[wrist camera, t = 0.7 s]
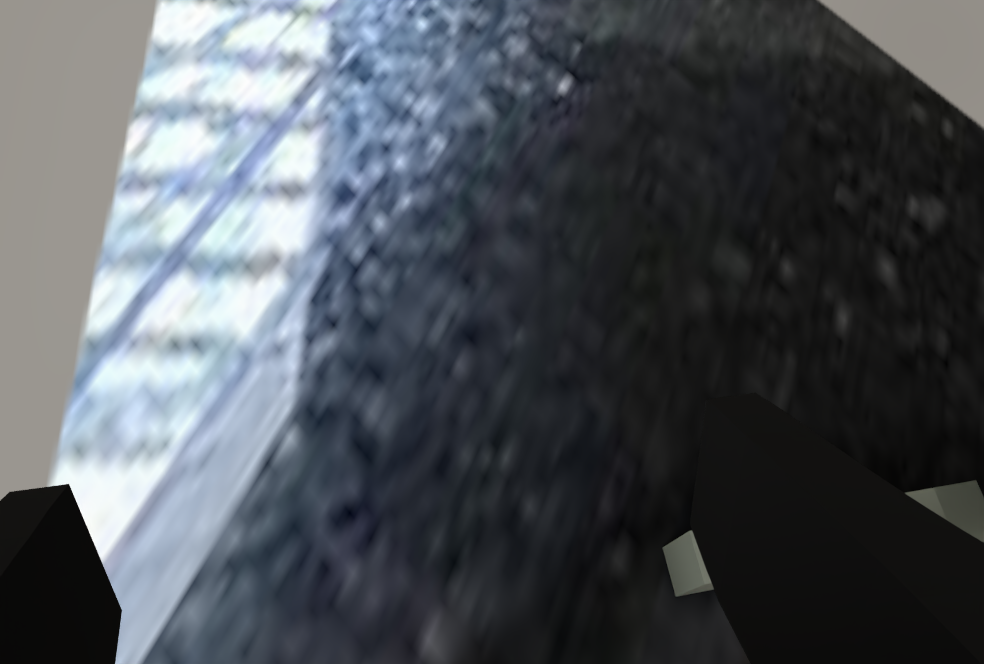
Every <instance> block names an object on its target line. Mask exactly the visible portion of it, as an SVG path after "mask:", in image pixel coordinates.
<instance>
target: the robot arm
mask: <svg viewBox="0 0 984 664" xmlns="http://www.w3.org/2000/svg"><path fill="white" fill-rule="evenodd" d="M690 526H691V529H692V531H693V534H694V537H695V540H696V543H697V545H698V548H699V551H700V554H701V556H702V559H703V562H704V565H705V567H706V570H707V573H708V575H709V578H710V580H711V583H712V585H713V588H714V591H715V593H716V596H717V598H718V601H719V603H720V605H721V607H722V609H723V611H724V613H725V615H726V617H727V619H728V621H729V623H730V625H731V626H732V628H733V630H734V632H735V634H736V636H737V638H738V640H739V642H740V644H741V646H742V648H743V650H744V652H745V653H746V655H747V657H748V659H749V661H750V663H751V664H984V542H982V541H980V540H979V539H977V538H975V537H974V536H972V535H970V534H969V533H967V532H965V531H964V530H962V529H960V528H959V527H957V526H956V525H954V524H952V523H951V522H949V521H948V520H946V519H944V518H943V517H941V516H940V515H938V514H936V513H935V512H933V511H932V510H930V509H928V508H927V507H925V506H924V505H922V504H921V503H919V502H918V501H916V500H914V499H913V498H911V497H910V496H908V495H907V494H905V493H904V492H902V491H901V490H899V489H898V488H896V487H895V486H893V485H892V484H890V483H889V482H887V481H886V480H884V479H883V478H881V477H880V476H878V475H877V474H875V473H874V472H872V471H871V470H869V469H868V468H866V467H865V466H863V465H862V464H860V463H859V462H857V461H856V460H854V459H853V458H851V457H850V456H849V455H847V454H846V453H844V452H843V451H841V450H840V449H838V448H837V447H835V446H834V445H832V444H831V443H830V442H828V441H827V440H825V439H824V438H822V437H821V436H819V435H818V434H816V433H815V432H814V431H812V430H811V429H809V428H808V427H806V426H805V425H803V424H802V423H800V422H799V421H797V420H796V419H795V418H793V417H792V416H790V415H789V414H787V413H786V412H784V411H783V410H781V409H780V408H778V407H777V406H775V405H774V404H772V403H771V402H769V401H768V400H766V399H764V398H763V397H761V396H760V395H758V394H756V393H750V394H742V395H735V396H727V397H720V398H712V399H706V405H705V413H704V421H703V428H702V436H701V443H700V451H699V459H698V466H697V474H696V481H695V489H694V497H693V504H692V512H691V519H690ZM121 613H122V610H121V607H120V605H119V602H118V600H117V598H116V595H115V593H114V591H113V588H112V586H111V583H110V581H109V579H108V576H107V574H106V571H105V569H104V567H103V564H102V562H101V560H100V557H99V555H98V552H97V550H96V548H95V545H94V543H93V541H92V538H91V536H90V533H89V531H88V529H87V526H86V524H85V521H84V519H83V517H82V514H81V512H80V510H79V507H78V505H77V502H76V500H75V498H74V495H73V493H72V490H71V488H70V486H69V484H66V485H59V486H51V487H44V488H37V489H29V490H21V491H14V492H9V493H8V494H7V495H6V496H5V497H4V498H3V499H2V500H1V501H0V664H115V660H116V652H117V644H118V636H119V629H120V621H121Z"/></svg>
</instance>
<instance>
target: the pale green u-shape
mask: <svg viewBox="0 0 984 664" xmlns="http://www.w3.org/2000/svg"><path fill="white" fill-rule="evenodd" d="M905 494H907V495H908V496H910V497H911V498H913V499H914V500H916V501H918V502H919V503H921V504H922V505H924V506H925V507H927V508H928V509H930V510H932V511H933V512H935V513H936V514H938V515H940V516H941V517H943V518H944V519H946V520H948V521H949V522H951V523H952V524H954V525H956V526H957V527H959V528H960V529H962V530H964V531H965V532H967V533H969V534H970V535H972V536H974V537H975V538H977V539H979V540H980V541H982V542H984V497H983V495H982V493H981V490H980V488H979V486H978V484H977V481H976V480H975V481H969V482H964V483H958V484H952V485H947V486H941V487H935V488H930V489H924V490H918V491H913V492H907V493H905ZM663 551H664V555H665V559H666V562H667V566H668V570H669V573H670V577H671V581H672V584H673V588H674V592H675V596H676V597H677V596H682V595H687V594H693V593H698V592H703V591H708V590H713V589H714V588H713V585H712V583H711V580H710V578H709V575H708V573H707V570H706V567H705V565H704V562H703V559H702V556H701V554H700V551H699V548H698V545H697V543H696V540H695V537H694V534H693V531H688V532H687V533H685V534H684V535H682V536H680V537H679V538H677V539H676V540H674V541H672V542H671V543H669V544H668V545H666V546H664V547H663Z"/></svg>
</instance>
